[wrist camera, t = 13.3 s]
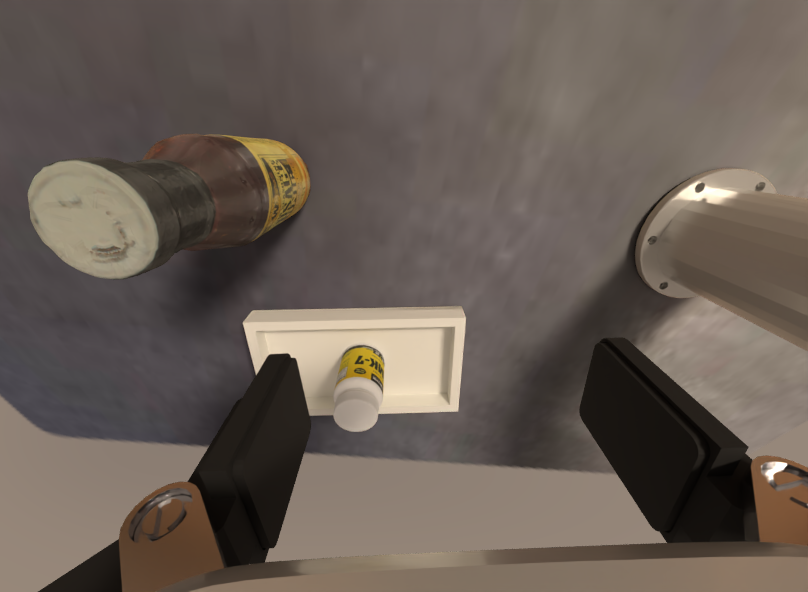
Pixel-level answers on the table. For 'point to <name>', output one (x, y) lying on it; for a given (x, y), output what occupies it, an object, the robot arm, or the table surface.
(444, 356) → the tray
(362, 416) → the supplement bottle
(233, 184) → the sauce bottle
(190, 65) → the table surface
